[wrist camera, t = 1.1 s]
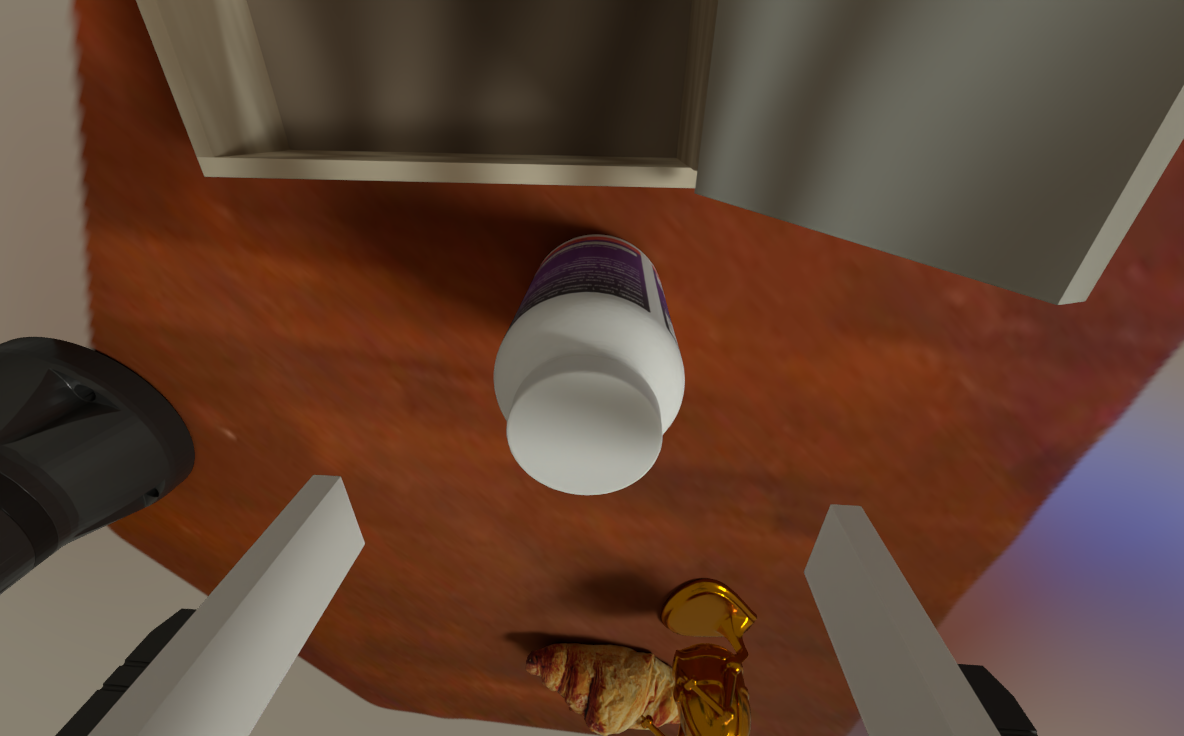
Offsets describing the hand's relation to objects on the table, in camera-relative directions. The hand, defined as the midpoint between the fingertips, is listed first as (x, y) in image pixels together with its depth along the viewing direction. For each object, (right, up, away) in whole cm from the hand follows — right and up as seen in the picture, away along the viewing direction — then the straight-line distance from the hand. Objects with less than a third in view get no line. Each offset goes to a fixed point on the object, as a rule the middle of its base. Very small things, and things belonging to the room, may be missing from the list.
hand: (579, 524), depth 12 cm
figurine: (+11, -19, +31) cm, 38 cm away
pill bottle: (+1, +9, +16) cm, 18 cm away
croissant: (+3, -29, +38) cm, 48 cm away
